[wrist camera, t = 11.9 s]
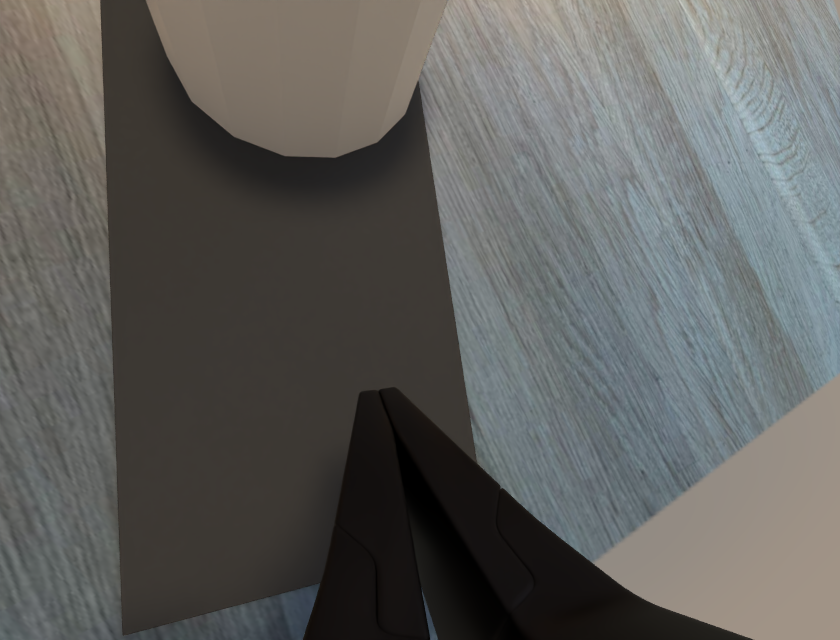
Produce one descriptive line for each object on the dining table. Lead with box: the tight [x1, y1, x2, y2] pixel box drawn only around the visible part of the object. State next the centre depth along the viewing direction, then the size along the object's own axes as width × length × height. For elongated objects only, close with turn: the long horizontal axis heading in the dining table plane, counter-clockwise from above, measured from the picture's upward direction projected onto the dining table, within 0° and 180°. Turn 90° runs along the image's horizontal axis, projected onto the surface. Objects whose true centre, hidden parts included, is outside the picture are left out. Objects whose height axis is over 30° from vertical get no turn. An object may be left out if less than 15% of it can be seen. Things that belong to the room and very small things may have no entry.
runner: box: [101, 0, 477, 636], centre depth 22 cm, size 32×16×1 cm, turn 8°
